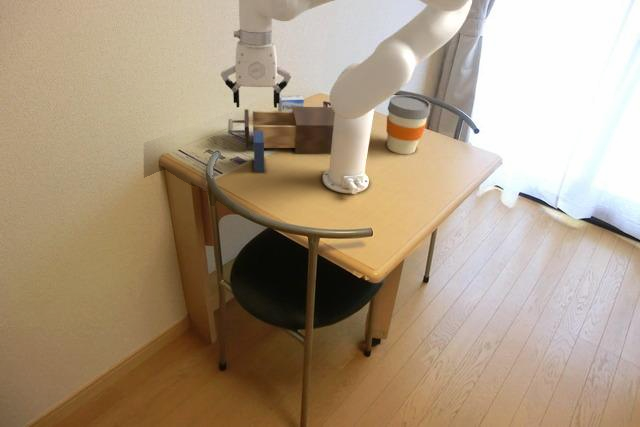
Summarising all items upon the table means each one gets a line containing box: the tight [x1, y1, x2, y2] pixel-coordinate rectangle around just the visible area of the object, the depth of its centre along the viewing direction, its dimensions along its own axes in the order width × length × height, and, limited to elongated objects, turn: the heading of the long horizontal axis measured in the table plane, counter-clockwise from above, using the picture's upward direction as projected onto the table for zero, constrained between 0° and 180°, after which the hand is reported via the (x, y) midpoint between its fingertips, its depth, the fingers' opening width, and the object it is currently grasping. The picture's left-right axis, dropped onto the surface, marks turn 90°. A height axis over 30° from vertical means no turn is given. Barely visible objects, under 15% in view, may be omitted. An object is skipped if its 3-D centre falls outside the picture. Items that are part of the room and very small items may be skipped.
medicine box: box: [277, 95, 305, 112], centre depth 148 cm, size 8×4×9 cm, turn 105°
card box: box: [253, 131, 265, 173], centre depth 122 cm, size 3×7×9 cm, turn 8°
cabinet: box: [292, 106, 335, 155], centre depth 136 cm, size 19×14×9 cm
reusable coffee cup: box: [386, 94, 431, 155], centre depth 136 cm, size 12×13×15 cm
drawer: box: [227, 108, 296, 151], centre depth 134 cm, size 22×12×7 cm, turn 98°
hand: (256, 105), depth 115 cm, fingers open, 9 cm apart
